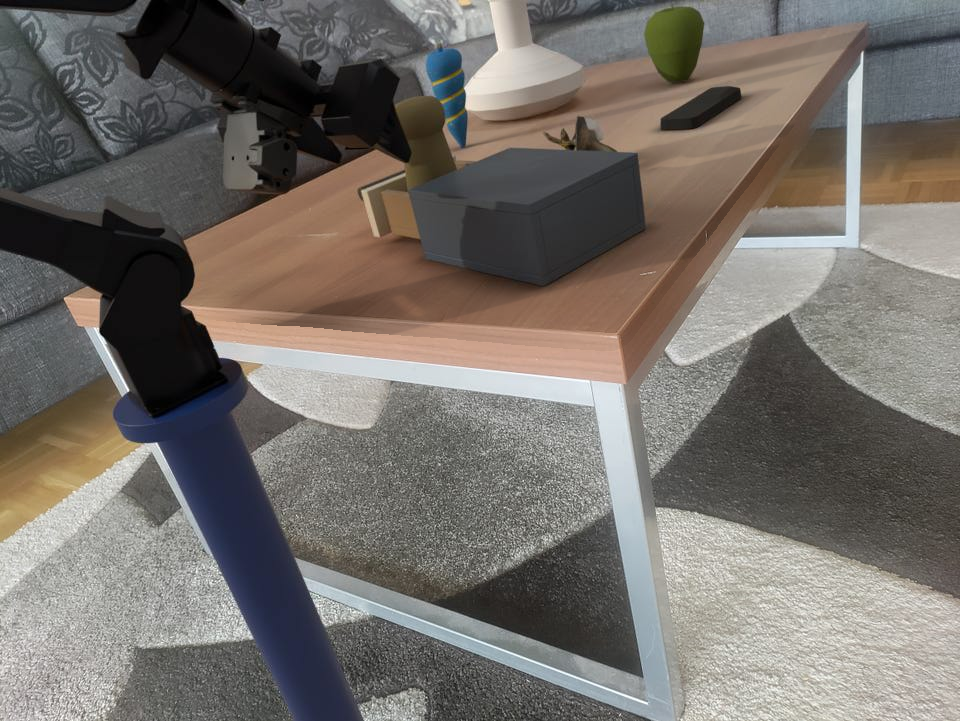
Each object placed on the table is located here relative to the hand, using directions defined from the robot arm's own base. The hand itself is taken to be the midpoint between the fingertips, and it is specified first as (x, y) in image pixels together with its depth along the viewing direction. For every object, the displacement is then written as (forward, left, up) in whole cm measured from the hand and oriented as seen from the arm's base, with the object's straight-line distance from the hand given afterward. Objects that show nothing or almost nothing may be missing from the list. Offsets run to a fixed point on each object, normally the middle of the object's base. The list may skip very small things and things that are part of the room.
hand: (372, 158), depth 68 cm
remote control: (+49, 0, -10) cm, 50 cm away
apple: (+67, +17, -10) cm, 69 cm away
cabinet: (+7, -11, -9) cm, 16 cm away
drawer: (+7, +1, -8) cm, 11 cm away
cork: (+7, +1, -8) cm, 10 cm away
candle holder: (+51, +35, -10) cm, 62 cm away
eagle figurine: (+26, -1, -10) cm, 27 cm away
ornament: (+32, +29, -10) cm, 44 cm away
